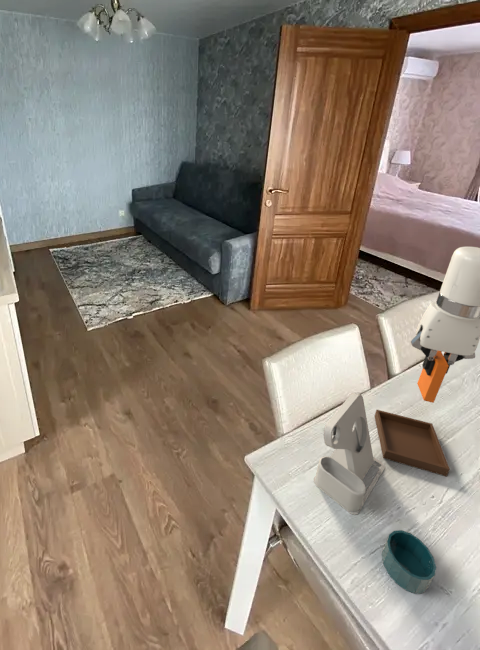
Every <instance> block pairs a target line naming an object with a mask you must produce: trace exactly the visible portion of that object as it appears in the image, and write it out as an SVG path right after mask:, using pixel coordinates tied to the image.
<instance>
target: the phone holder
mask: <svg viewBox="0 0 480 650" xmlns="http://www.w3.org/2000/svg"><path fill="white" fill-rule="evenodd" d="M366 413H367V412H366V407H365V402H364V397H363V395H362V394H360V393H355V392H352V393H351V394H350V395H348V397H347V398H346V400H345V401H344V402H343V403H342V404H341V405H340V407H339V408H338V409H337V410H336V412H335V413H334V414H333V415H331V417H330V418H329V420H328V421H327V422H326V423H325V426H324V429H323V440H324V445H325V446H326V447H329V448H332V449H334V451H333V452H332V453H331V454H330V456H327V455H326V456H322V457H320V458H319V460H318V464H317V468H316V471H315V476H314V477H313V484H314V485H315V486H316V487H317V488H318V489H320V490H321V491H322V492H323V493H324V494H326V495H327V496H328V497H329V498H330V499H331V500H332V501H334V502H335V503H337V504H338V505H339V506H340V507H341V508H343V509H344V510H345V511H347V512H348V513H349V514H350V515H353V516H356V515H357V516H358V515H359V514H360V511H361V510H362V509H363V507H364V505H365V503H366V501H367V499H368V498H369V497H370V495H371V493H372V492H373V489H374V488H375V485H376V484H377V482H378V481H379V480H380V477H381V476H382V473H383V471H384V470H385V465H384V464H383V462H382V461H380V460H379V459H378V458H376V457H374V454H373V448H372V447H373V446H372V442H371V436H370V431H369V425H368V418H367V414H366ZM372 466H374V467H377V468H379V469H378V470H377V472H376V474H375V476H374V478H373V479H372V481H371V483H370V484H369V486H368V487H367V486H366V484H365V482H364V479H365V477H366V476H367V474H368V473H369V471H370V469H371V468H372Z"/></svg>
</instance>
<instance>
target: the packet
mask: <svg viewBox="0 0 480 650" xmlns="http://www.w3.org/2000/svg"><path fill="white" fill-rule="evenodd" d="M434 361H435V365H434V368H433V370H432V373H431V376H429V375H427V373H426V371H425V369H423V368H422V369H421V372H420V375H419V377H418V380H417V383H416V384H417V387H418V390H419V392H420V394H421V397H422V399H423V401H424V402H428V403H435V401H436V398H437V396H438V393H439V391H440V388H441V387H442V384H443V381H444V379H445V376H446V372H447V369H448V367H449V365H448V364H447V362H446V360H445V358H444V353H443V351H438V350H437V353H436V356H435V360H434ZM449 368H450V367H449ZM447 373H448V372H447Z"/></svg>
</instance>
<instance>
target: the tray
mask: <svg viewBox="0 0 480 650" xmlns="http://www.w3.org/2000/svg"><path fill="white" fill-rule="evenodd" d="M374 420H375V426H376V430H377V434H378V440H379V445H380V449H381V450H380V451H381V454H382V458H383V459H385V460H389V461H391V462H394V463H395V462H396V463H399V464H402V465H406V466H409V467H412V468H416V469H419V470H422V471H426V472H428V473H429V472H430V473H433V474H436V475H439V476H443V477H448V475H449V472H450V471H451V470H450V466H449V464H448V461H447V458H446V455H445V453H444V450H443V448H442V445H441V443H440V440H439V437H438V435H437V432H436V430H435V427H434V425H433V423H431V422H428V421H423V420H420V419H416V418H411V417H408V416H405V415H404V416H403V415H401V414H400V415H399V414H397V413H392V412H389V411H384V410H380V409H376V410H375V413H374Z"/></svg>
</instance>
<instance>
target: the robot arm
mask: <svg viewBox="0 0 480 650" xmlns="http://www.w3.org/2000/svg"><path fill="white" fill-rule="evenodd" d="M479 342H480V247H478V246H460V247H458V248H456V249H455V250H454V251H453V254H452V255H451V258H450V261H449V264H448V267H447V269H446V272H445V275H444V279H443V281H442V284H441V286H440V289H439V293H438V295H437V298H436V301H431V302H430V303H429V305H428V306H427V308H426V309H425V311H424V313H423V314H422V316H421V318H420V320H419V322H418V324H417V327H416V330H415V337H413V338H412V339H411V340H410V344H411V346H412V347H413V348H415V349H417V350H419V351H421V352H422V353H423V355H424V358H423V362H422V369H425V371H426V373H427V375H429V376H431V373H432V370H433V368H434V365H435V361H434V360H435V356H436V353H437V350H438V351H441V352H442V353H443V356H444V358H445V360H446V362H447V364H448V365H449V367H448V369H447V372H446V374H448V372H449V370H450V367H451V366H454V365H455V363H456V362H459V361H462V360H472V359H475V358H476V350H477V348H478V345H479ZM446 374H445V375H446Z"/></svg>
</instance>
